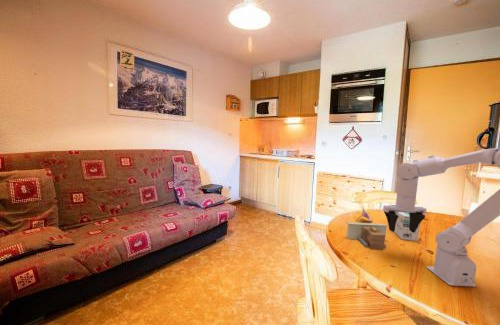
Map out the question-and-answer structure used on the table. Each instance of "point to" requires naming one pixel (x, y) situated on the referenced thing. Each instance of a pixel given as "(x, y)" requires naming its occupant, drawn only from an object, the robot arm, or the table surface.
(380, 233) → the cabinet block
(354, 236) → the wall board
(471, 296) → the table surface
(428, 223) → the table surface
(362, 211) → the lily
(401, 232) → the light bulb box
